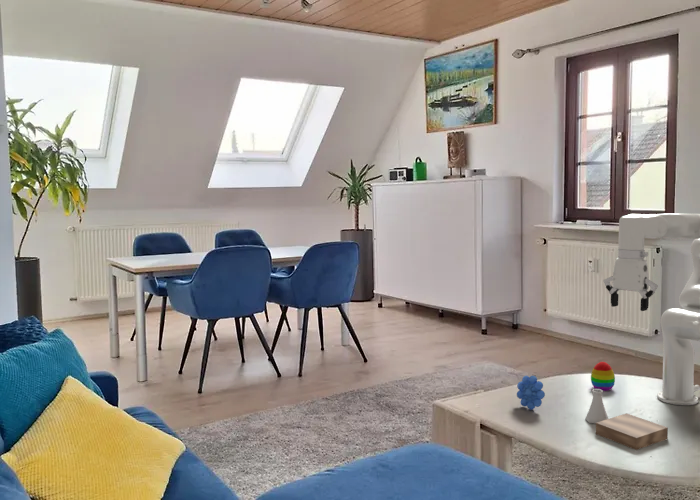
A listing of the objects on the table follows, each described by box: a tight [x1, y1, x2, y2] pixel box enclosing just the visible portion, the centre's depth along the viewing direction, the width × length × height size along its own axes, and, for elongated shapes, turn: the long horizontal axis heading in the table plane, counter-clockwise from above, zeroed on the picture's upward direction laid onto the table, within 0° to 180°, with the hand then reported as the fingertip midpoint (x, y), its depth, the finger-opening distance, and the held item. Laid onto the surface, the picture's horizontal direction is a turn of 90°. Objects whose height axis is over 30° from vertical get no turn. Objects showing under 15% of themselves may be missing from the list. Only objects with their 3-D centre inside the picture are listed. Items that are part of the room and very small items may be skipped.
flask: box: [584, 388, 609, 425], centre depth 207 cm, size 7×7×10 cm
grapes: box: [516, 375, 546, 411], centre depth 218 cm, size 12×7×12 cm, turn 32°
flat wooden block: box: [595, 413, 669, 451], centre depth 194 cm, size 14×14×4 cm
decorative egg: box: [590, 361, 616, 392], centre depth 237 cm, size 8×8×10 cm
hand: (629, 308), depth 208 cm, fingers open, 9 cm apart
